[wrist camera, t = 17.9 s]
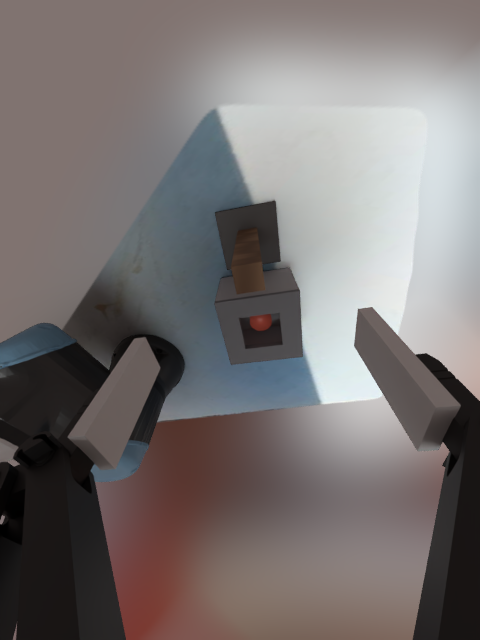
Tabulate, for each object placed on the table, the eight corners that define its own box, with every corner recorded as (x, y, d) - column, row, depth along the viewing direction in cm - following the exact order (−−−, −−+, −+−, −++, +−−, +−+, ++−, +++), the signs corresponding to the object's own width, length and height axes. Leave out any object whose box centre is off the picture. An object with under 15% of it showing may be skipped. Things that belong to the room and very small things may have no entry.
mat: (227, 268, 40) (227, 270, 39) (215, 212, 35) (214, 212, 35) (280, 260, 39) (280, 261, 38) (274, 200, 34) (275, 201, 34)
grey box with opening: (233, 332, 47) (230, 364, 40) (220, 278, 41) (214, 303, 33) (293, 325, 46) (302, 356, 38) (289, 267, 39) (299, 290, 32)
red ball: (251, 318, 43) (251, 332, 39) (248, 301, 41) (248, 314, 37) (270, 315, 42) (273, 329, 39) (268, 298, 41) (270, 311, 37)
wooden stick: (241, 250, 38) (236, 294, 24) (237, 230, 36) (230, 266, 23) (259, 246, 37) (265, 290, 24) (256, 227, 36) (261, 261, 22)
